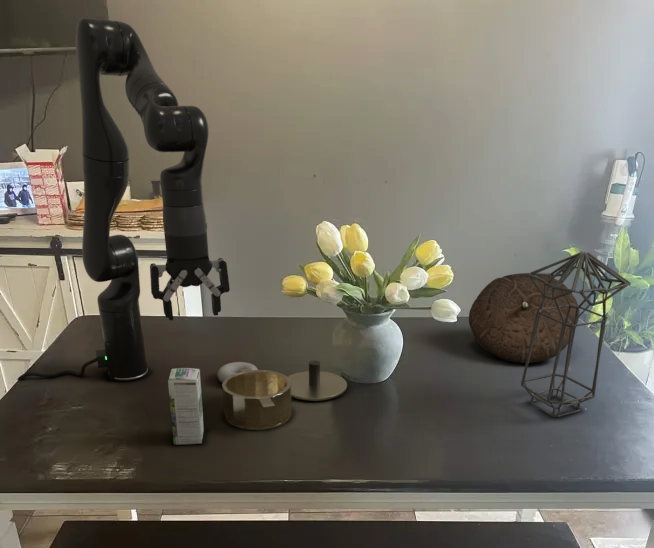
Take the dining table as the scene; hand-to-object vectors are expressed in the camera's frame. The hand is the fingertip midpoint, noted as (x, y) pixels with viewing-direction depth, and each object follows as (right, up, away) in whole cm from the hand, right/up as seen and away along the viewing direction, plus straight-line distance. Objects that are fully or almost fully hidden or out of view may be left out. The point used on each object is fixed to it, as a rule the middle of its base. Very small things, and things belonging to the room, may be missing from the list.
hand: (193, 316), depth 129 cm
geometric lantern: (+77, -16, +25) cm, 83 cm away
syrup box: (-3, -23, +10) cm, 26 cm away
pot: (+10, -18, +20) cm, 29 cm away
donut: (+4, -9, +36) cm, 37 cm away
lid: (+23, -11, +32) cm, 40 cm away
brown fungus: (+78, +1, +56) cm, 96 cm away
